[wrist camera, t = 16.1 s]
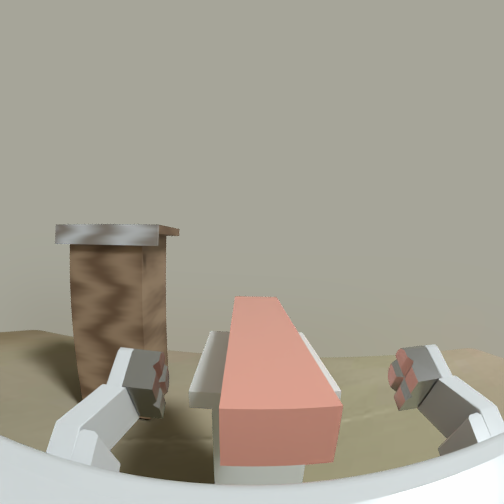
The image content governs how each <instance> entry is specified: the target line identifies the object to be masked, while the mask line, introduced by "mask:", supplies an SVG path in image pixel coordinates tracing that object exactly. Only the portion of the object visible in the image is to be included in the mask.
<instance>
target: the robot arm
mask: <svg viewBox="0 0 504 504" xmlns="http://www.w3.org/2000/svg"><path fill="white" fill-rule="evenodd" d="M396 358H397V359H396V360H395V361H394V362H392V363H391V365H390V368H389V371H388V380H389V384H390V387H391V388H392V389H394V390H395V391H396V392H395V395H394V399H395V401H396V404H397V407H398V410H399V411H401V410H408V409H414V408H418V410H419V411H420V412H421V413H422V414H423V415H424V416H425V417H426V418H427V419H428V420H429V421H430V422H431V423H432V424H433V425H434V426H435V427H436V428H437V429H438V430H439V431H440V432H441V433H442V434H443V435H444V436H445V437H446V438H447V439H446V440H445V441H444V442H443V443H442V444H441V445H440V446H439V448H438V451H439V454H440V456H439V457H436V458H432V459H429V460H425V461H422V462H418V463H415V464H411V465H407V466H403V467H399V468H394V469H390V470H385V471H381V472H376V473H371V474H365V475H359V476H353V477H347V478H340V479H333V480H325V481H315V482H305V483H292V484H271V485H225V484H205V483H192V482H181V481H172V480H164V479H157V478H150V477H143V476H137V475H132V474H126V473H121V472H119V470H120V462H119V461H118V460H117V458H116V457H115V456H114V455H113V454H112V452H111V451H110V450H111V449H112V447H113V446H114V445H115V444H116V443H117V442H118V441H119V440H120V439H121V438H122V437H123V435H124V434H125V433H126V432H127V431H128V430H129V429H130V428H131V427H132V425H133V424H134V423H135V422H136V421H137V420H138V419H139V416H140V417H150V418H161V419H163V415H164V410H165V404H166V402H165V399H164V395H165V394H166V393H167V392H168V387H169V371H168V367H167V366H166V365H165V359H166V358H165V355H164V352H160V351H150V350H142V349H133V348H124V347H121V348H120V349H119V350H118V352H117V355H116V358H115V360H114V363H113V366H112V369H111V372H110V375H109V378H108V381H107V384H102V385H101V386H99V387H98V388H97V389H96V390H94V391H93V392H92V393H91V394H90V395H88V396H87V397H86V398H85V399H83V400H82V401H81V402H80V403H78V404H77V405H76V406H75V407H73V408H72V409H71V410H70V411H68V412H67V413H66V414H65V415H63V416H62V417H61V418H60V419H59V420H57V421H56V424H55V427H54V430H53V433H52V436H51V439H50V442H49V445H48V448H47V451H46V452H43V451H40V450H37V449H34V448H32V447H29V446H26V445H24V444H21V443H18V442H16V441H13V440H11V439H8V438H6V437H4V436H1V435H0V504H504V422H503V419H502V417H501V415H500V413H499V411H498V409H497V406H496V405H495V404H493V403H492V402H491V401H489V400H488V399H487V398H485V397H484V396H483V395H481V394H480V393H479V392H477V391H476V390H474V389H473V388H472V387H470V386H469V385H468V384H466V383H465V382H464V381H462V380H461V379H459V378H458V377H457V376H452V374H451V372H450V370H449V368H448V366H447V364H446V362H445V360H444V358H443V356H442V354H441V352H440V350H439V348H438V347H437V346H436V345H434V344H433V345H425V346H416V347H408V348H401V349H399V350H398V351H397V353H396Z"/></svg>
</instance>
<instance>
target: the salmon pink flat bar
mask: <svg viewBox="0 0 504 504" xmlns="http://www.w3.org/2000/svg"><path fill="white" fill-rule="evenodd" d="M342 409H343V405H342V403H341V401H340V400H339V398H338V397H337V395H336V393H335V392H334V390H333V388H332V387H331V385H330V384H329V382H328V380H327V379H326V377H325V375H324V374H323V372H322V371H321V369H320V367H319V366H318V364H317V362H316V361H315V359H314V358H313V356H312V354H311V353H310V351H309V349H308V348H307V346H306V345H305V343H304V341H303V340H302V338H301V336H300V335H299V333H298V331H297V330H296V328H295V327H294V325H293V324H292V322H291V320H290V318H289V317H288V315H287V314H286V312H285V310H284V309H283V307H282V306H281V304H280V302H279V300H278V299H277V297H245V296H235V301H234V308H233V314H232V321H231V328H230V335H229V342H228V349H227V355H226V362H225V369H224V376H223V383H222V390H221V397H220V405H219V438H220V466H291V465H307V464H319V463H329V462H333V460H334V455H335V450H336V445H337V439H338V434H339V428H340V422H341V416H342Z"/></svg>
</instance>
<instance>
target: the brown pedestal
mask: <svg viewBox="0 0 504 504" xmlns="http://www.w3.org/2000/svg"><path fill="white" fill-rule="evenodd" d="M55 234H56V235H55V243H56V244H70V289H71V308H72V322H73V333H74V344H75V353H76V361H77V368H78V375H79V382H80V388H81V394H82V399H85V398H86V397H87V396H88V395H90V394H91V393H92V392H93V391H94V390H96V389H97V388H98V387H99V386H101V385H102V384H107V381H108V378H109V375H110V372H111V369H112V366H113V363H114V360H115V358H116V355H117V352H118V350H119V349H120V348H121V347H124V348H133V349H142V350H150V351H160V352H164V355H165V358H166V359H165V365H166V366H167V367H168V359H167V336H166V335H167V334H166V236H179V229H176V228H171V227H167V226H162V225H147V224H143V225H142V224H138V225H137V224H136V225H135V224H73V225H71V224H68V225H56V233H55ZM139 418H144V419H151V418H150V417H140V416H139Z"/></svg>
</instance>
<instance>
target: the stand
mask: <svg viewBox="0 0 504 504" xmlns="http://www.w3.org/2000/svg"><path fill="white" fill-rule="evenodd" d="M229 335H230V332H220V331H210V334H209V337H208V339H207V342H206V345H205V348H204V350H203V353H202V356H201V359H200V361H199V364H198V367H197V370H196V372H195V375H194V378H193V381H192V384H191V386H190V389H189V407H190V408H205V409H212V429H213V457H214V479H215V484H225V485H271V484H292V483H302V480H303V474H304V467H305V465H291V466H220V438H219V405H220V397H221V390H222V383H223V376H224V369H225V362H226V355H227V349H228V342H229ZM299 335H300V336H301V338H302V340H303V341H304V343H305V345H306V346H307V348H308V349H309V351H310V353H311V354H312V356H313V358H314V359H315V361H316V362H317V364H318V366H319V367H320V369H321V371H322V372H323V374H324V375H325V377H326V379H327V380H328V382H329V384H330V385H331V387H332V388H333V390H334V392H335V393H336V395H337V397H338V398H339V400H340V397H341V390H340V388H339V387H338V385H337V384H336V382H335V381H334V379H333V378H332V376H331V375H330V373H329V372H328V370H327V369H326V367H325V366H324V364H323V363H322V361H321V360H320V358H319V357H318V355H317V354H316V352H315V351H314V349H313V348H312V346H311V345H310V343H309V342H308V340H307V339H306V337H305V336H304V334H303V333H299Z"/></svg>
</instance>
